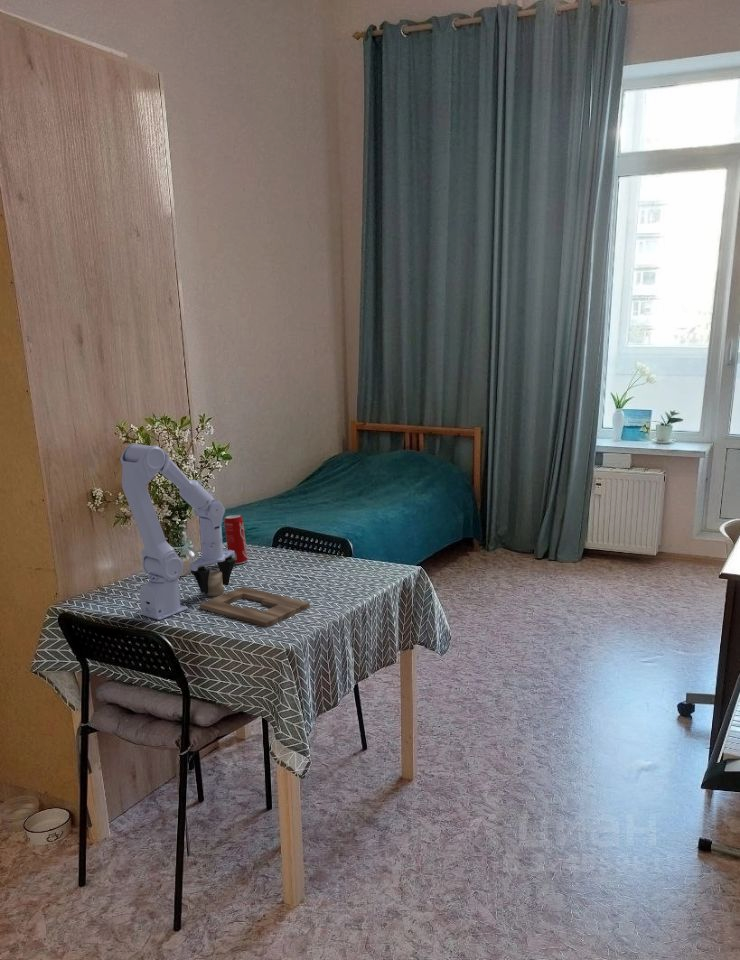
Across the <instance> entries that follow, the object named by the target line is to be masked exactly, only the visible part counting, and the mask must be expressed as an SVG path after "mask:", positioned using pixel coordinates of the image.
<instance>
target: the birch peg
mask: <svg viewBox="0 0 740 960" xmlns="http://www.w3.org/2000/svg"><path fill="white" fill-rule="evenodd" d="M209 571H210V573H209V578H208V593H207V594H206V595H207V597H211V596H213V597H212V598H216V597H219V596H221V595H224V585H223V579H222V572H221V571H220V570H209Z"/></svg>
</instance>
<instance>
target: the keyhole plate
mask: <svg viewBox="0 0 740 960" xmlns="http://www.w3.org/2000/svg"><path fill="white" fill-rule="evenodd" d="M243 598H244V599H248V600H251V601H256V602H260V603H261V605H263V606H266V607H270V608H268V609H265V610H260V609H256V608H253V607H249V606H245V607H240V606H236V605H233V604H232V603H234V602H237V601H238V600H241V599H243ZM309 608H310V602H308V601H303V600H301V599H296V598H292V597H289V596H284V595H280V594H275V593H271V592H268V591H264V590H260V589H255V588H252V587H247V586H242V587H238V588H236V589H234V590H231V591H230V592H229V591H228V592H226V593H223V594H222V595H220V596H216V597H213V598H211V599H208V600H206V601H204V602H201V603H199V610H200V609H201V610H203V611H204V610H205V611H207V610H208V612H212V613H214V612H215V614H218V615H221V614H222V616H226V617H229V618H232V619H236V620H240V621H242V622H243V621H244V622H247V623H250V624H253V625H257V626H260V627H264V628H269V627H271V626H274V625H275V624H278V623H279V622H281V621H283V620H285V619H288V618H290V617H292V616H294V615H296V614H298V613H300V612H302V611H304V610H307V609H309Z"/></svg>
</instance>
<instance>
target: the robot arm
mask: <svg viewBox="0 0 740 960" xmlns="http://www.w3.org/2000/svg"><path fill="white" fill-rule="evenodd" d="M119 459H120V462H121V466H122V470H121V487H122V491H123V493H124V496H125V498H126V501H127V504H128V506H129V510H130V511H131V514H132V517H133V520H134V523H135V525H136V527H137V531H138V533H139V535H140V538H141V541H142V544H143V546H144V548H142V550H141V552H140V554H141V557H142V563H141V564H142V565H141V566H142V569H143V571H144V572H145V573H146V574H147V578H148V580H147V582H146V583H144V584H143V585H141V586H140V589H139V596H140V608H141V609H140V610H141V611H140V612H139V614H140V615H142V616H145V617H148V618H151V619H154V620H158V621H161V620H163V619H165V618H169V617H170V616H171V617H172V616H174V615H176V614H178V613H181V612H183V611H185V610H188V609H189V607H188V606H186V605H182V604H181V596H180V584H179V583H180V582H179V579H180V576H181V574H182V573H183V569H184V562H183V560H182V558H181V557H180V556H179V555H178V554H177V553H176V550H175V548H174V547H173V546H171V545H170V543H168V541H167V539H166V537H165V533H164V531H163V528H162V526H161V522H160V519H159V517H158V515H157V512H156V508H155V507H154V503H153V501H152V498H151V495H150V492H149V489H148V485H149V483H150V482H151V480H153V478H155V477H156V475H157V474H158V473H160V474H161V475H163V476H164V477H165V478H166V479H167V480H168V481H170V482H171V483H172V484H173V485H174V486H176V487H177V489H179V490H178V491H179V492H178V494H179V496H180V497H181V498H182V500H184V501H185V502H186V503H187V504H188V505H189V506H190V507H191V508H192V510H193V513H194V515H195V516H197V517H198V520H199V532H200V546H201V547H200V548H201V557H199V558H197V559H196V560H194V561H192V562H190V563H189V570H190V573H191V574H192V576H193V577H194V578H195V580H196V582H197V584H198V587H199V591H200V593H201V594H204V595H207V593H208V578H209V573H210V571H211V570H208V569H206V568H207V567H208V566H211V565H213V564H217V566H218V569H219V570H218V571H221V572H222V579H223V586H229V584H230V579H231V576H232V571H233V569H234V567H235V565H236V564H235V560H234V559H232V558H234V557H235V551H233V550H228V549H227V550H224V546H223V533H222V531H223V530H222V525H223V519H224V518H223V517H224V515H225V513H226V508H225V507H224V505H223V503H222V501H221V500H219V499H217V498H214V497H213V494H212V493H211V492H209V491H207V490H206V489H205V488H204V486H202V485H203V483H202V482H201V481H200V480H196V479H189V478H188V477H187V476H186V474H185V473H183V471H182V470H181V469H180V468H179V467H178V466H177V465H176V463H175V462H174V461H173V460H172V459H171V456H170V455H169V454H168V453H167V452H166V451H165V450H163V449H162V448H161V447H160V446H157V445H148V444H147V445H146V444H145V445H144V444H139V443H136V442H135V443H134V442H133V443H130V444H127V446H126V447H125V448H124V450H123V451H122V453H121V456H120V457H119Z"/></svg>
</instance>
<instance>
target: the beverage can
mask: <svg viewBox="0 0 740 960" xmlns="http://www.w3.org/2000/svg"><path fill="white" fill-rule="evenodd" d="M223 521H224V522H223V524H224V531H225V538H226V539H225V540H226V546H227V551H228V550H233V551H235V557H234V558H232V559H234V560H235V565H241V564H244V563H247V562H248V559H249V558H248V551H247V543H246V536H245V526H244V519H243V517H242V514H237V513H236V514H229V515H226V516H224V520H223Z"/></svg>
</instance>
